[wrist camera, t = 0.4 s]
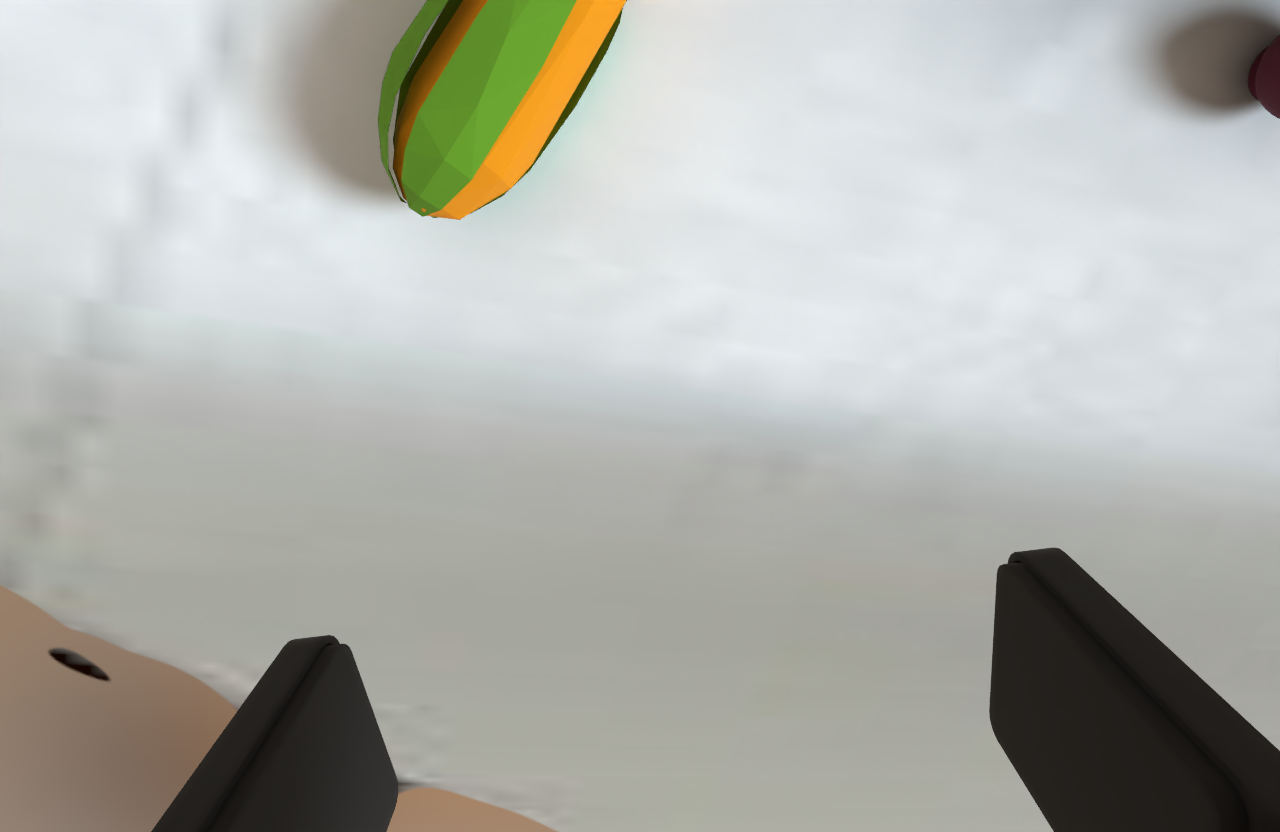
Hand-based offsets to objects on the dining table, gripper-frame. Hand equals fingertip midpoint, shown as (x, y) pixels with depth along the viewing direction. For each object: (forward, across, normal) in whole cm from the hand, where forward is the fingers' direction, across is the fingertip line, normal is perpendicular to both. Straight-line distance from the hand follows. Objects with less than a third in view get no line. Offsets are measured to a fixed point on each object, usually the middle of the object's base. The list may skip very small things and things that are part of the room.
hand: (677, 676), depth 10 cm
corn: (+30, +4, -13) cm, 33 cm away
